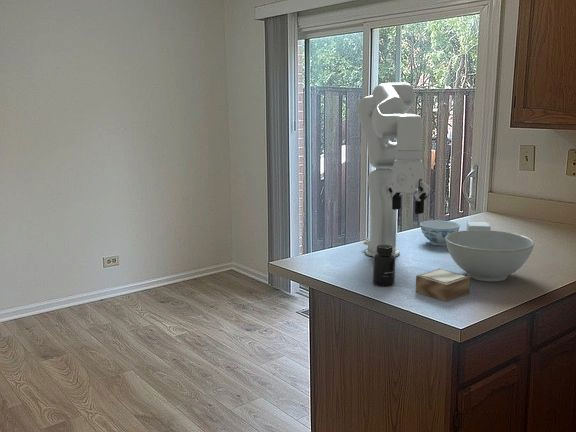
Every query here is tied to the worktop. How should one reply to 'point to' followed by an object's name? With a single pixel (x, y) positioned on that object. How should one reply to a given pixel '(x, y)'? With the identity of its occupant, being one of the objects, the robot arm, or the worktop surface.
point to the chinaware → (438, 230)
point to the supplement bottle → (384, 266)
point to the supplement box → (478, 226)
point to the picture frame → (442, 284)
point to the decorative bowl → (488, 253)
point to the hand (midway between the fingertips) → (407, 211)
